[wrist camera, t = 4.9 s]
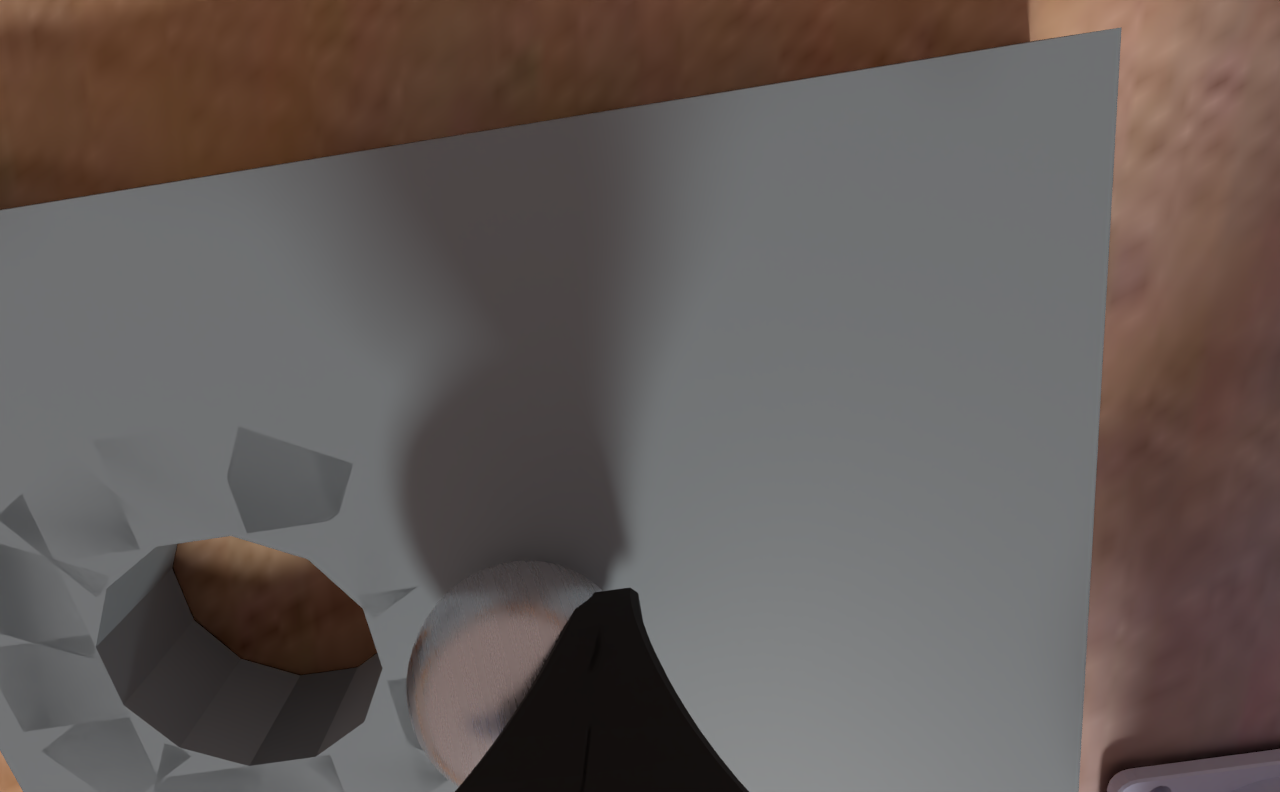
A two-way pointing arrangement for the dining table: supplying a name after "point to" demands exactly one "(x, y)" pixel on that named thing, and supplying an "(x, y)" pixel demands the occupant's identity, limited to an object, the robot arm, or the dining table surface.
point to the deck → (585, 426)
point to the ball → (485, 656)
